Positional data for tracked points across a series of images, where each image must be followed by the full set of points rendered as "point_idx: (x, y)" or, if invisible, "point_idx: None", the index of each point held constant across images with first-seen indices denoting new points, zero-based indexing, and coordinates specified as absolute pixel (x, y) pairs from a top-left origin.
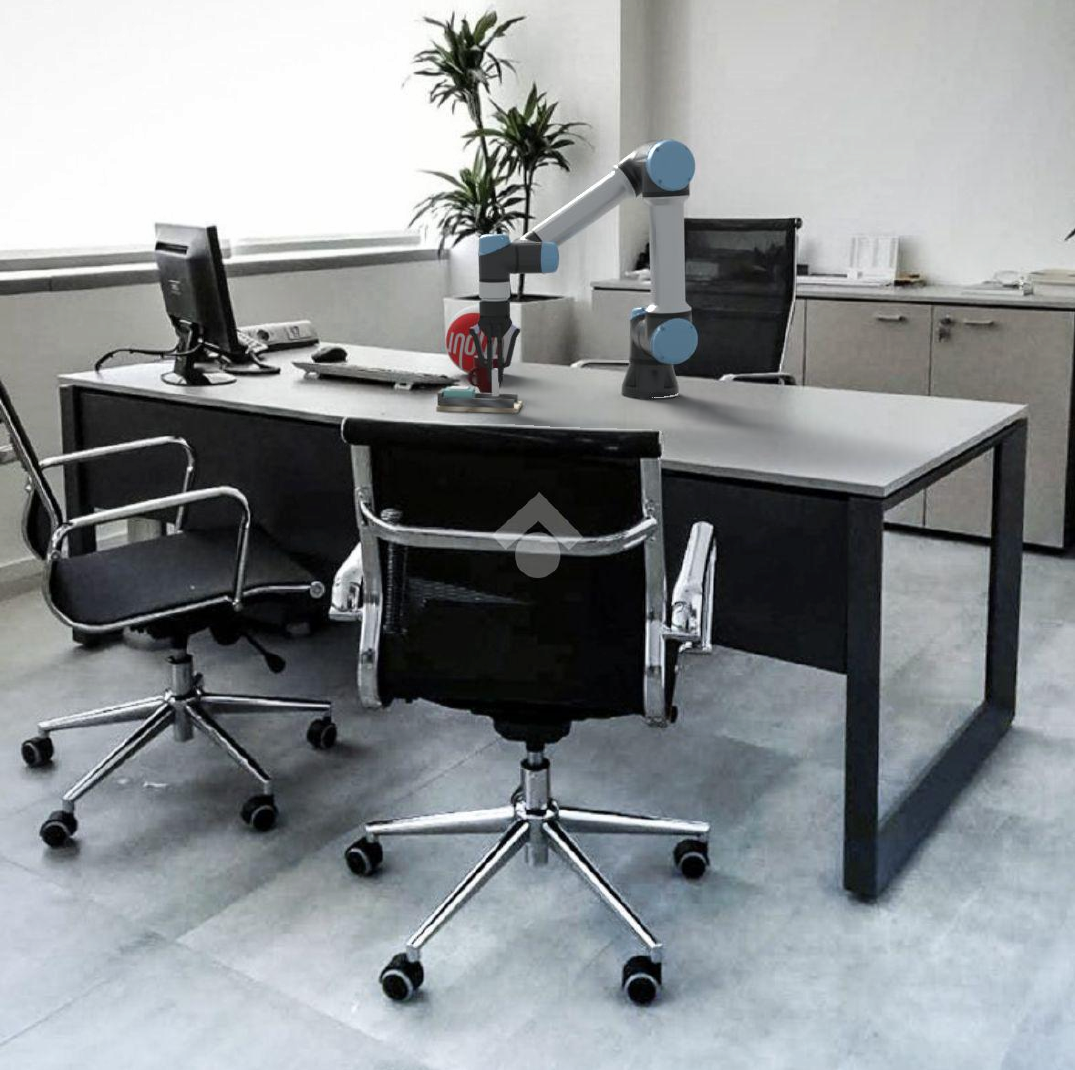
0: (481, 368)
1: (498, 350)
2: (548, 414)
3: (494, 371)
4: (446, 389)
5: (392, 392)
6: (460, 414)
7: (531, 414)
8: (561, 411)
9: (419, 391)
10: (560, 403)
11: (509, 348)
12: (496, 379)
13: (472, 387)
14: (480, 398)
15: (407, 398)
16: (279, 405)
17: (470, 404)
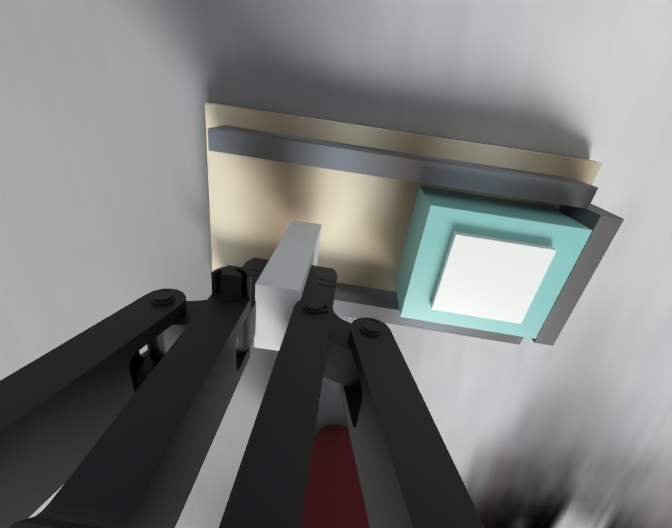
0: (360, 515)
1: (174, 407)
2: (71, 71)
3: (281, 280)
4: (564, 263)
5: (636, 482)
6: (489, 52)
7: (144, 68)
8: (43, 152)
9: (543, 487)
10: (97, 308)
11: (16, 407)
12: (281, 254)
13: (413, 315)
14: (381, 176)
15: (622, 403)
16: None
17: (431, 157)
